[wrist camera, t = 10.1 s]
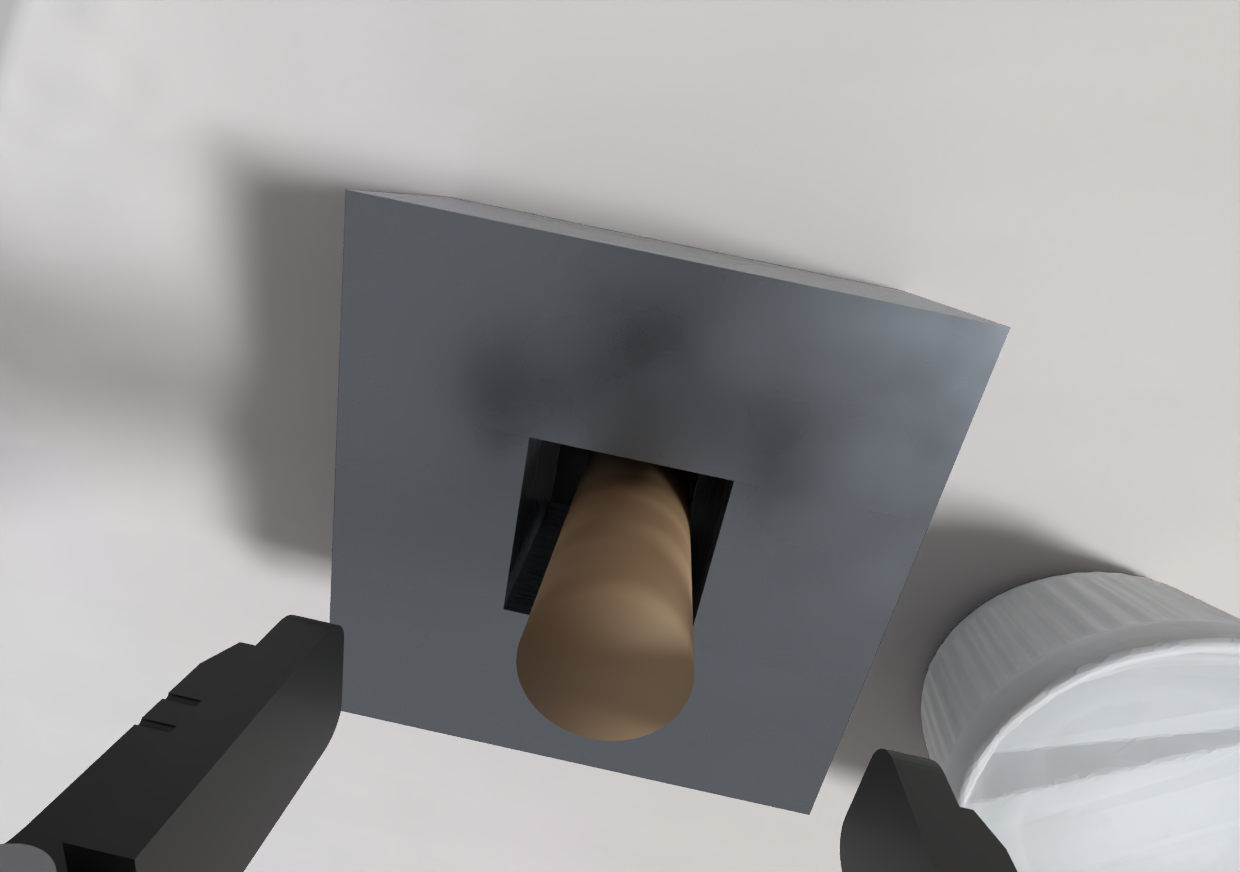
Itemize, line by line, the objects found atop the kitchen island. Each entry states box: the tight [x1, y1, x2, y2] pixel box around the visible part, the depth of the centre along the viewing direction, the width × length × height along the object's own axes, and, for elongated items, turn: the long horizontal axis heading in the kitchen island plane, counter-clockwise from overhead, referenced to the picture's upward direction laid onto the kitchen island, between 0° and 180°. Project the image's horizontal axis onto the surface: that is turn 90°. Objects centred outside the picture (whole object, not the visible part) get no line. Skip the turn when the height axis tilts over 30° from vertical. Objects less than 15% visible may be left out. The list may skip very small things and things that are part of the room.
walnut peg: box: [516, 450, 694, 741], centre depth 15 cm, size 3×3×10 cm
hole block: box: [330, 190, 1010, 815], centre depth 17 cm, size 13×13×6 cm
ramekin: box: [921, 572, 1240, 872], centre depth 19 cm, size 11×11×5 cm
